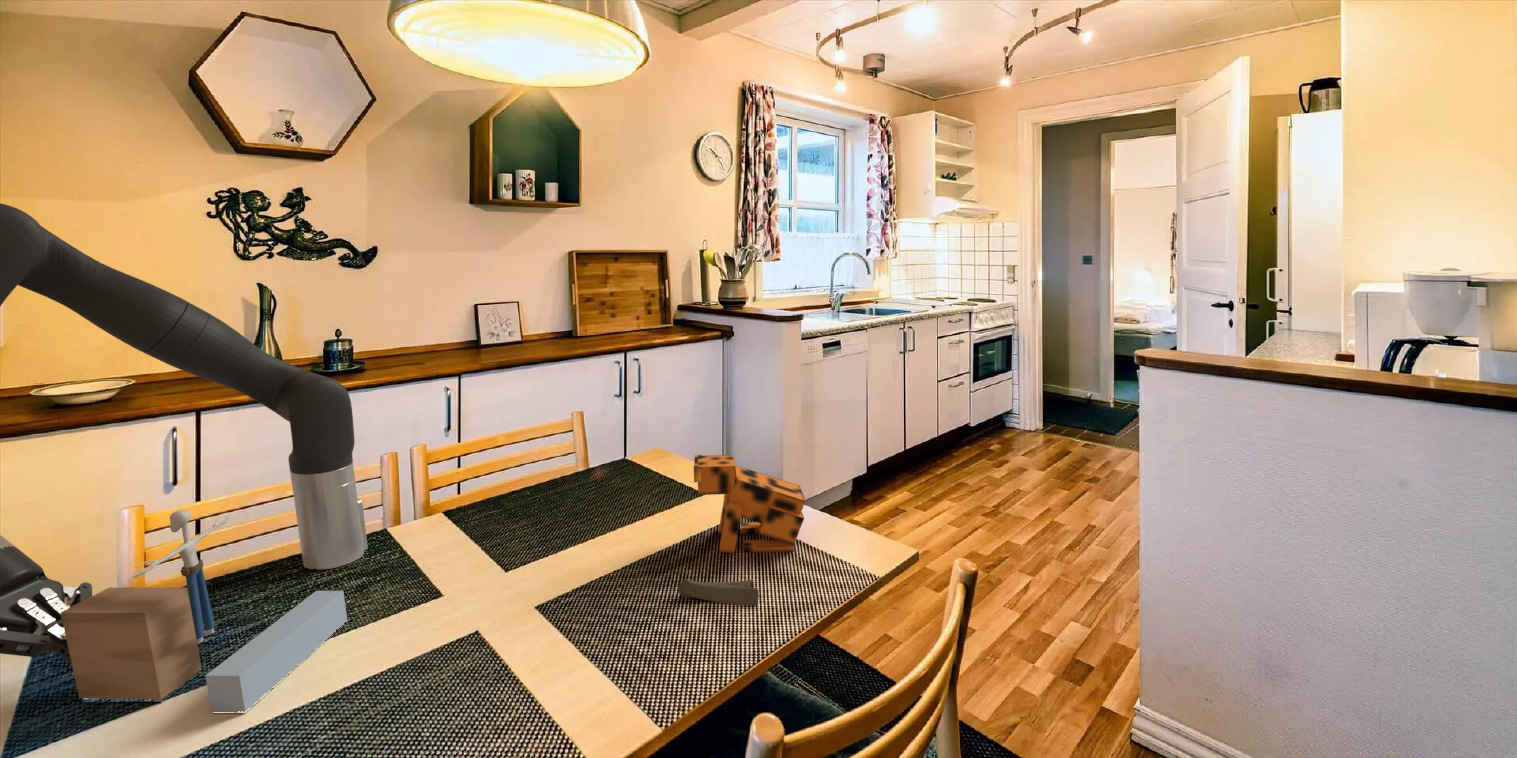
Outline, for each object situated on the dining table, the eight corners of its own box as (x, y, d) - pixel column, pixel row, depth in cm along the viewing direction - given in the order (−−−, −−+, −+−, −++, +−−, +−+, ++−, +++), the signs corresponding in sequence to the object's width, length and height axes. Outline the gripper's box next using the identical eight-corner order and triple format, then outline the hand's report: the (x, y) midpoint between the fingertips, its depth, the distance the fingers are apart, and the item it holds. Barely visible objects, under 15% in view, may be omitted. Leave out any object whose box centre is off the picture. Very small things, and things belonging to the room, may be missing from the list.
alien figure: (216, 605, 104) (196, 487, 101) (254, 602, 105) (235, 485, 101) (113, 687, 85) (84, 543, 81) (161, 683, 86) (134, 541, 82)
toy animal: (806, 551, 122) (806, 467, 119) (695, 555, 121) (693, 470, 118) (798, 527, 132) (799, 450, 130) (696, 531, 131) (694, 452, 128)
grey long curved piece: (762, 591, 108) (761, 570, 108) (758, 608, 104) (757, 586, 103) (683, 587, 110) (682, 567, 109) (676, 604, 105) (675, 583, 104)
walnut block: (126, 672, 88) (109, 587, 85) (202, 672, 88) (187, 587, 85) (80, 703, 82) (60, 612, 80) (161, 703, 82) (144, 612, 79)
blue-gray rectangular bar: (320, 622, 99) (316, 590, 98) (347, 622, 99) (343, 590, 98) (212, 713, 80) (205, 675, 79) (245, 713, 80) (239, 675, 79)
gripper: (-74, 574, 75) (56, 674, 77) (50, 526, 88) (159, 613, 90) (-109, 617, 76) (20, 714, 78) (18, 563, 89) (126, 648, 91)
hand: (94, 660), depth 84 cm, fingers closed
